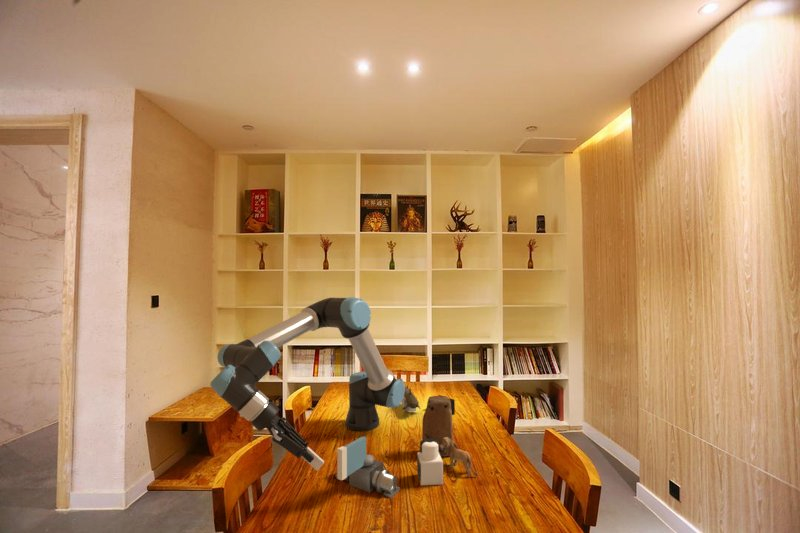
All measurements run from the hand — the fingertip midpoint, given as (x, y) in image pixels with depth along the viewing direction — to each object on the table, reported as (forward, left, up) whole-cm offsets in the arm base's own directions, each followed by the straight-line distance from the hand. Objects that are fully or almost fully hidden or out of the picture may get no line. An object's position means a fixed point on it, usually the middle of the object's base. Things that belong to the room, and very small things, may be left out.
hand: (320, 465), depth 105 cm
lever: (-3, +11, -4) cm, 12 cm away
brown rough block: (-22, +42, -10) cm, 48 cm away
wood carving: (-75, +43, -10) cm, 87 cm away
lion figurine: (-9, +45, -10) cm, 47 cm away
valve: (-7, +14, -10) cm, 19 cm away
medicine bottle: (-5, +34, -10) cm, 36 cm away
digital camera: (-65, +59, -10) cm, 88 cm away
